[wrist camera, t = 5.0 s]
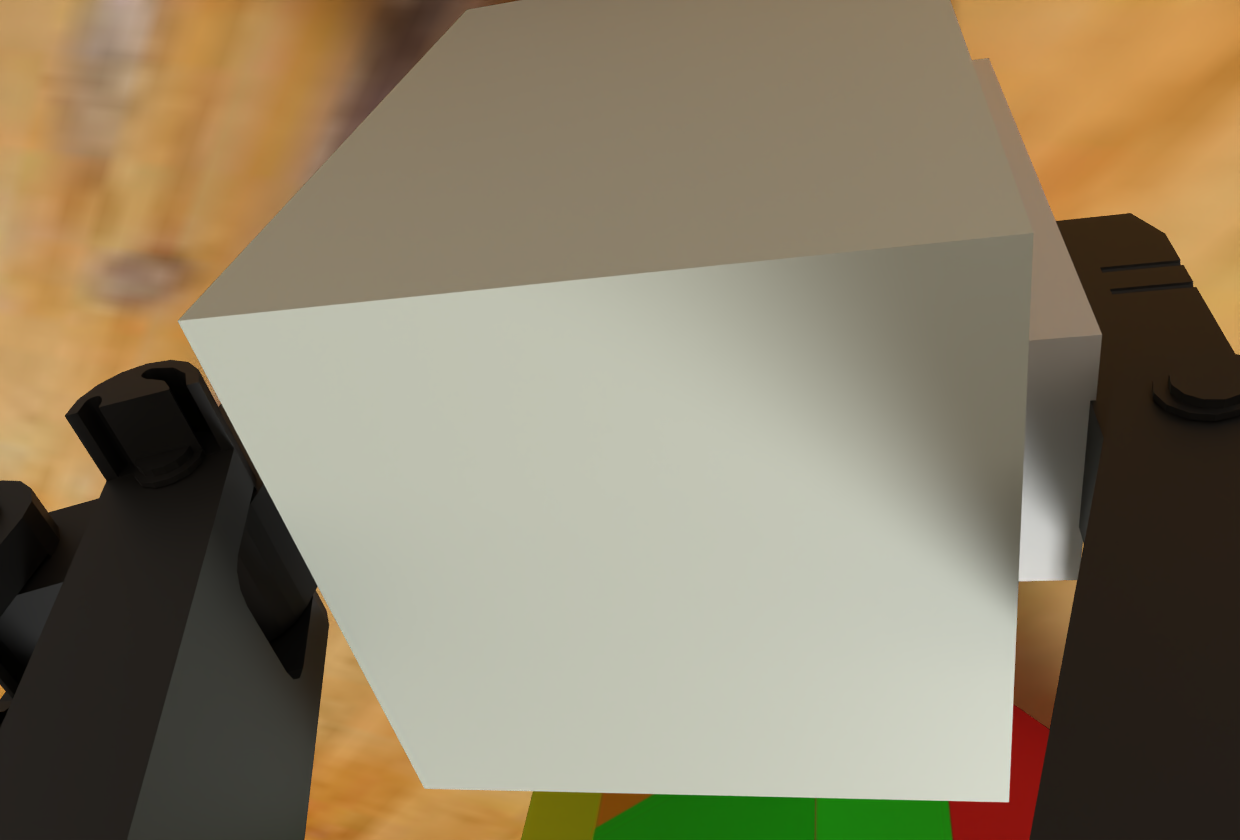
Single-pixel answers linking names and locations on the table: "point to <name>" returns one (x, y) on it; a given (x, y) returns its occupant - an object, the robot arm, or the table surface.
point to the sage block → (659, 400)
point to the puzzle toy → (797, 811)
